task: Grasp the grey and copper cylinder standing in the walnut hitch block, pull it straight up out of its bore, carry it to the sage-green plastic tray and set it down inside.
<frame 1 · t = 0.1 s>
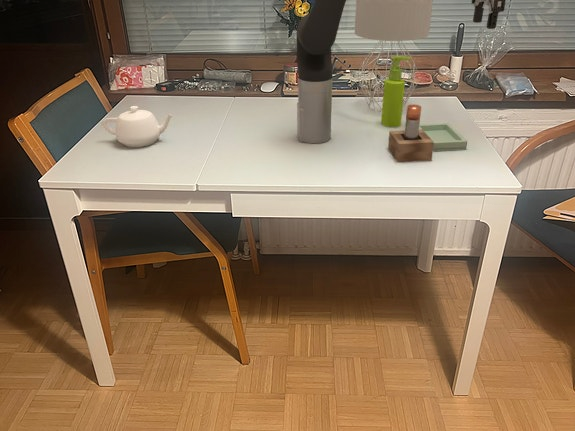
hand: (483, 25, 141), 29 cm above the table, fingers open, 8 cm apart
hitch block: (409, 154, 141), on the table
tray: (439, 140, 148), on the table
soap dispenser: (392, 124, 161), on the table
grey and copper cylinder: (411, 131, 137), in the hitch block
teapot: (141, 142, 151), on the table
table lamp: (385, 107, 175), on the table
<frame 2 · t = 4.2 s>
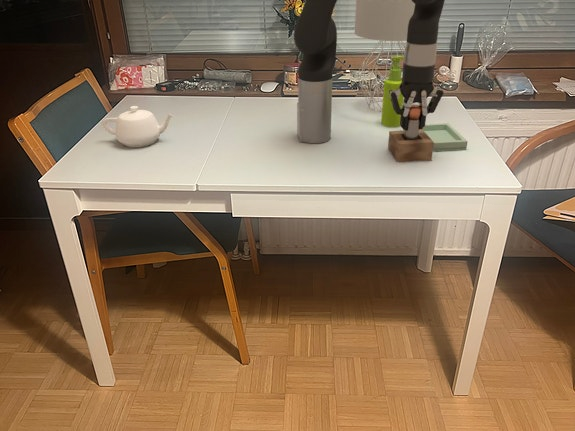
hand: (412, 128, 137), 7 cm above the table, fingers closed on grey and copper cylinder, 3 cm apart
grey and copper cylinder: (411, 131, 137), in the hitch block, touching gripper
everything else where it was.
when the fingers open (8 cm above the table, at t = 10.7 s): grey and copper cylinder stays where it is, resting on tray.
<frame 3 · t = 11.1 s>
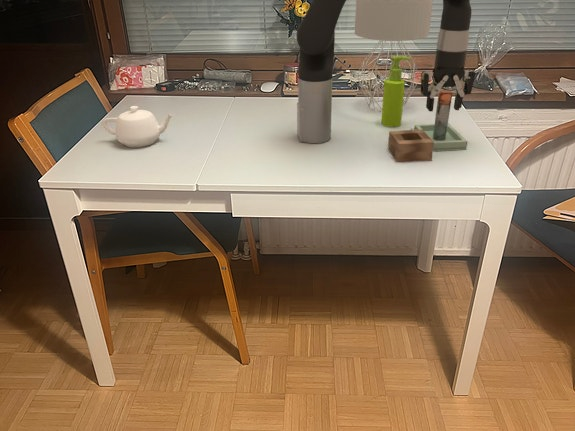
hand: (443, 109, 144), 9 cm above the table, fingers open, 6 cm apart
grey and copper cylinder: (442, 115, 145), in the tray, point 7 cm above the table
everything else where it was.
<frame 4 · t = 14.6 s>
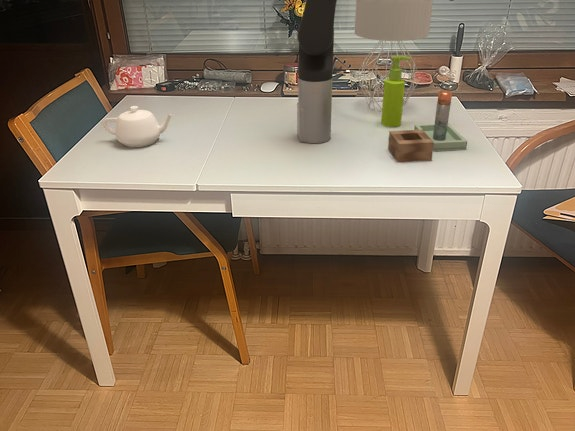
nothing on the table moved.
at the end: grey and copper cylinder inside the target area on the tray (0.1 cm from its centre), point 7.3 cm above the tray's base; grey and copper cylinder touching tray; the gripper is holding nothing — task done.
